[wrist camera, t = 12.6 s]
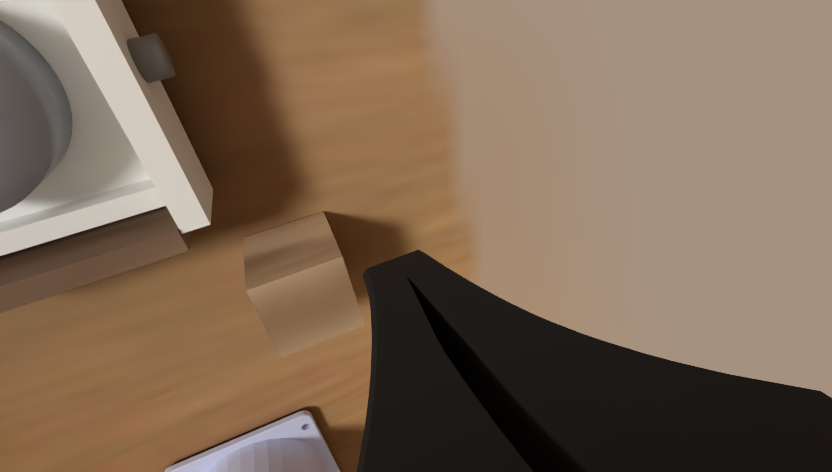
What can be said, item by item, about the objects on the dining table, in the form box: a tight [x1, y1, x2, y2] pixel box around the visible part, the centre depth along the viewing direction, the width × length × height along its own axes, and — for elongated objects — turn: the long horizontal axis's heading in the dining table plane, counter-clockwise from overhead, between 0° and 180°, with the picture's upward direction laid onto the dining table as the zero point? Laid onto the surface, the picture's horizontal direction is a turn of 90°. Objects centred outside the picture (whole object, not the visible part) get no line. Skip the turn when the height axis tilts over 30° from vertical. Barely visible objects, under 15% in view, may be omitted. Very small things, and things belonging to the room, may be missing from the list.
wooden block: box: [243, 212, 365, 358], centre depth 19 cm, size 4×4×4 cm
